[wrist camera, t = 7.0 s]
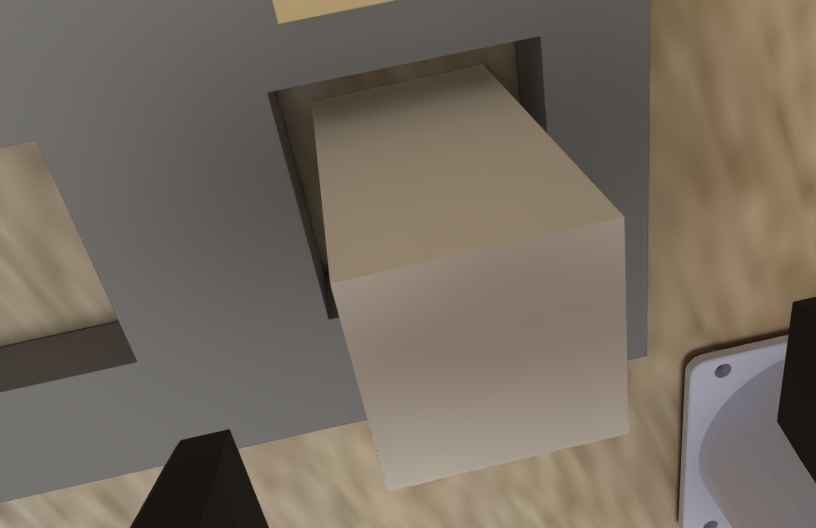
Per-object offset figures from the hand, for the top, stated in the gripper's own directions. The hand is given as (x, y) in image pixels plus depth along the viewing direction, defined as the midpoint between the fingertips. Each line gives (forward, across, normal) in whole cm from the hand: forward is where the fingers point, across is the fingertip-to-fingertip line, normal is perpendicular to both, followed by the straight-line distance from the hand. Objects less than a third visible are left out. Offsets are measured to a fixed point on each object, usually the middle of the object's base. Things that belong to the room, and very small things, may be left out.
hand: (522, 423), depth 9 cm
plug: (+9, 0, 0) cm, 9 cm away
